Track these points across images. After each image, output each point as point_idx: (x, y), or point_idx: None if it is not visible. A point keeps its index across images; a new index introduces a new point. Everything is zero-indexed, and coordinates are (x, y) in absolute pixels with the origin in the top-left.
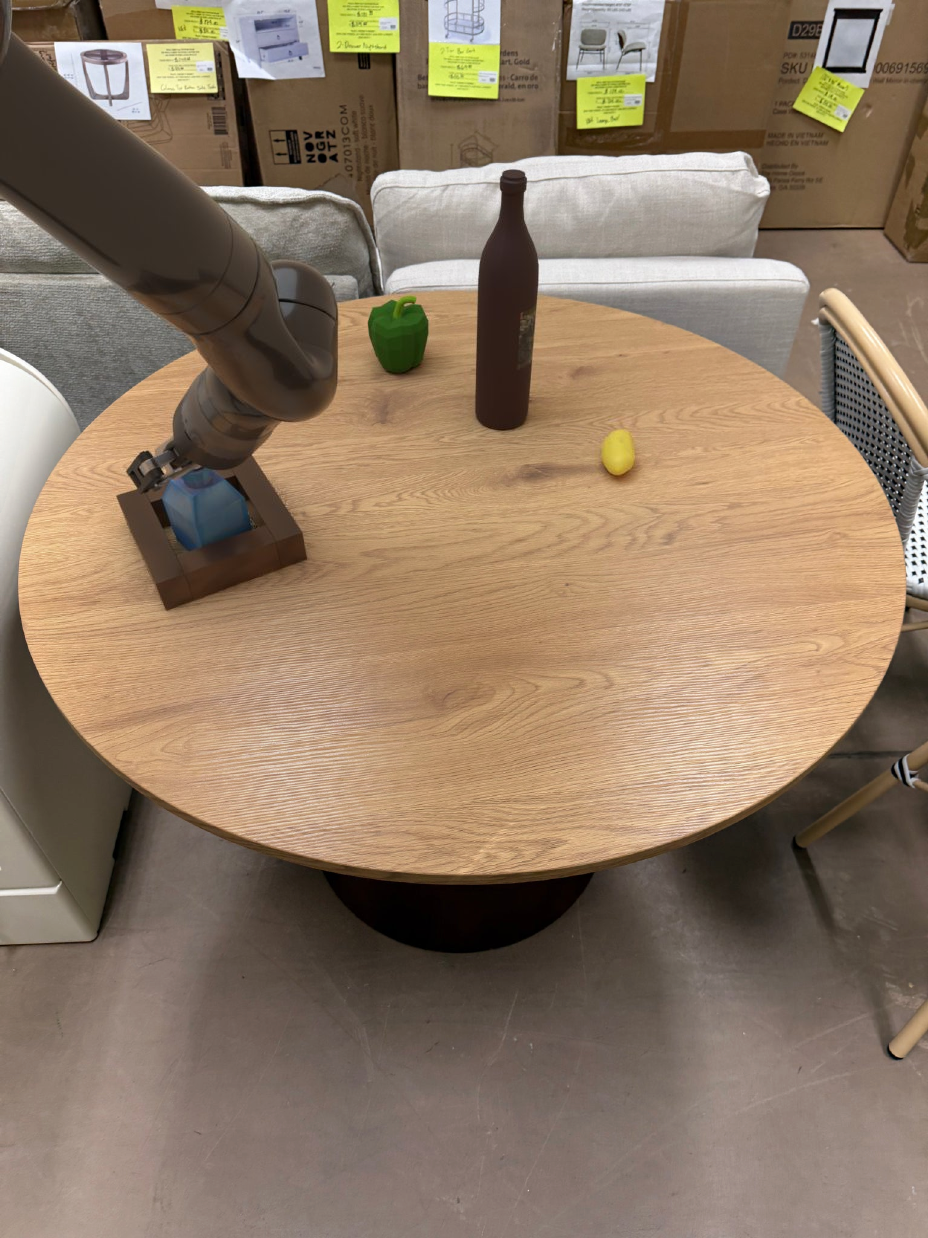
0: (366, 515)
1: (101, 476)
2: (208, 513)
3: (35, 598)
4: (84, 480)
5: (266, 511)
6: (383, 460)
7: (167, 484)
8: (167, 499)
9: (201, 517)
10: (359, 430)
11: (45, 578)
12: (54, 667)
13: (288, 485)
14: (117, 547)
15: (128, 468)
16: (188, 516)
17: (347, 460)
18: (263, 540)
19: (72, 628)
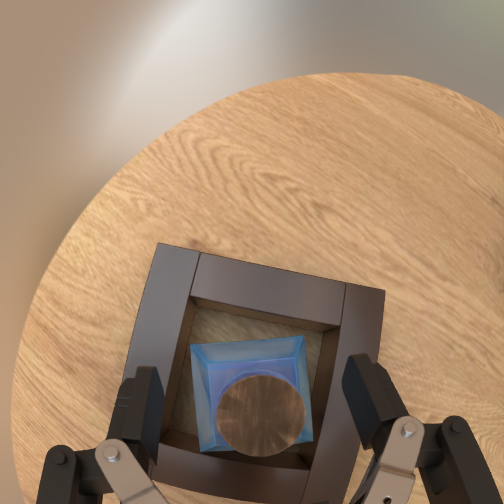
0: None
1: (198, 157)
2: (233, 449)
3: (34, 309)
4: (178, 152)
5: (329, 444)
6: (486, 361)
7: (236, 272)
8: (193, 362)
9: (217, 450)
10: (489, 291)
11: (53, 286)
12: (14, 415)
13: (390, 339)
14: (134, 298)
15: (40, 483)
16: (199, 432)
17: (462, 336)
18: (285, 496)
19: (40, 384)
